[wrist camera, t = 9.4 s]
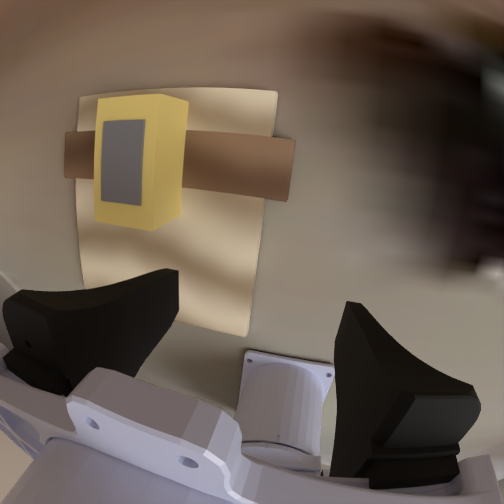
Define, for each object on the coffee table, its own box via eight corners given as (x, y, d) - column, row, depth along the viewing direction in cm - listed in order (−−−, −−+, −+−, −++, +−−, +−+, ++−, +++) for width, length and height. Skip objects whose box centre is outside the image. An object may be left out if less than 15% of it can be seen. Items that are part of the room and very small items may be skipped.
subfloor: (266, 333, 24) (264, 341, 23) (80, 285, 27) (74, 289, 26) (300, 96, 17) (300, 94, 16) (75, 99, 20) (68, 99, 19)
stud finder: (180, 215, 21) (150, 232, 17) (127, 207, 21) (92, 222, 17) (189, 101, 18) (159, 93, 14) (132, 103, 18) (96, 98, 15)
